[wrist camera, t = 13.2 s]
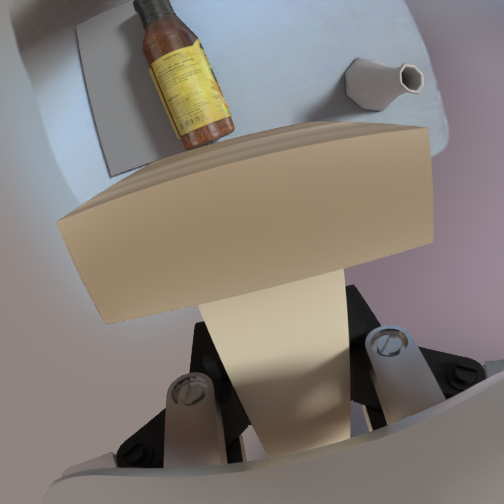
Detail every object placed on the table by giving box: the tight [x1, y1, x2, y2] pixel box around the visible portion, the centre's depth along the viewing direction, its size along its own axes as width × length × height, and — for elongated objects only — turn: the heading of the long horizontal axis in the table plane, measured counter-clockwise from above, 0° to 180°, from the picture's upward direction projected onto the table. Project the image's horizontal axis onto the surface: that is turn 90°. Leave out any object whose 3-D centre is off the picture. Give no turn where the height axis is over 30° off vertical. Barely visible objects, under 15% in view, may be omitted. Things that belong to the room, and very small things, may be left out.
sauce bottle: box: [133, 0, 234, 150], centre depth 26 cm, size 7×6×20 cm
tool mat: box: [76, 0, 187, 176], centre depth 29 cm, size 22×10×1 cm, turn 13°
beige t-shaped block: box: [56, 121, 434, 458], centre depth 10 cm, size 14×6×7 cm, turn 13°
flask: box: [345, 58, 424, 111], centre depth 27 cm, size 7×7×10 cm
